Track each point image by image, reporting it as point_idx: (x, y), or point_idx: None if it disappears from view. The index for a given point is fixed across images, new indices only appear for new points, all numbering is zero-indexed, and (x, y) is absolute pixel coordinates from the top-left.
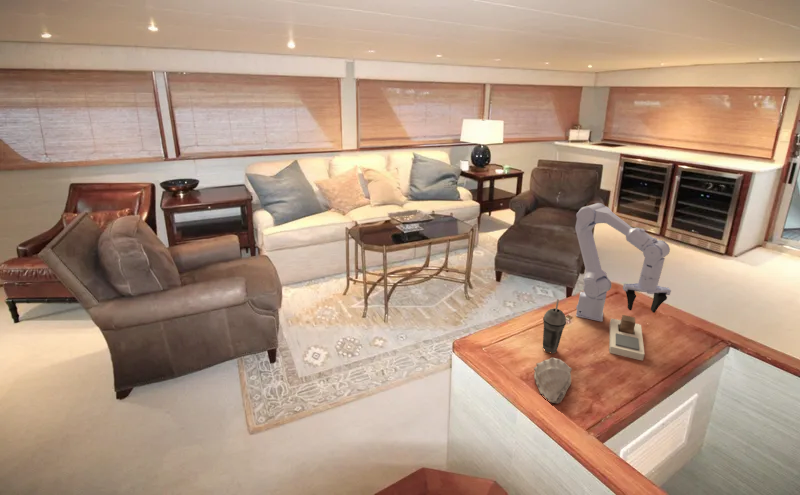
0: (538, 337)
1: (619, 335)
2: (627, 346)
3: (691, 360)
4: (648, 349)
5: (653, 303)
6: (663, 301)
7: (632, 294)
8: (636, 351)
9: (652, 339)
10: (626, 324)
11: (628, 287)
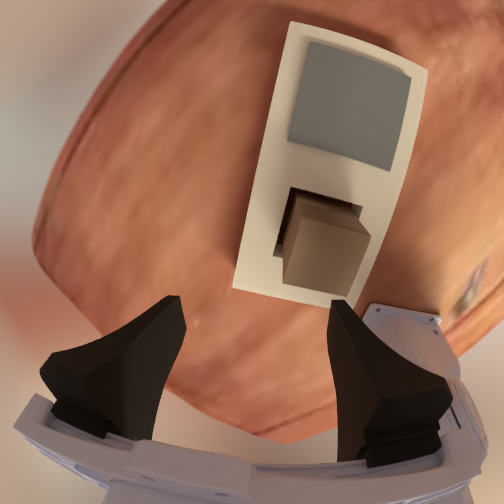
0: None
1: (378, 153)
2: (364, 58)
3: (100, 103)
4: (238, 123)
5: (164, 359)
6: (80, 346)
7: (418, 408)
8: (323, 36)
9: (199, 212)
10: (342, 221)
11: (454, 473)
